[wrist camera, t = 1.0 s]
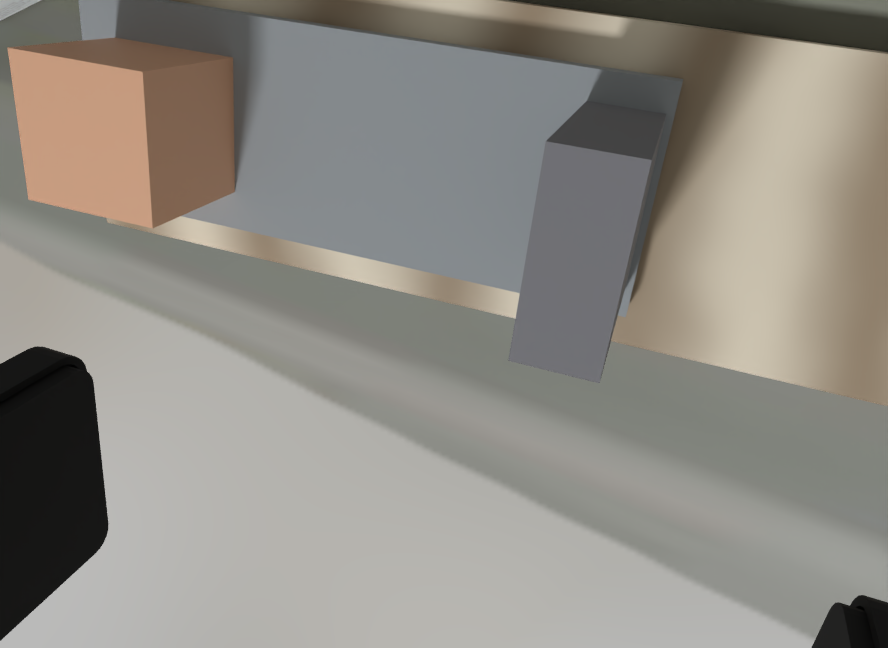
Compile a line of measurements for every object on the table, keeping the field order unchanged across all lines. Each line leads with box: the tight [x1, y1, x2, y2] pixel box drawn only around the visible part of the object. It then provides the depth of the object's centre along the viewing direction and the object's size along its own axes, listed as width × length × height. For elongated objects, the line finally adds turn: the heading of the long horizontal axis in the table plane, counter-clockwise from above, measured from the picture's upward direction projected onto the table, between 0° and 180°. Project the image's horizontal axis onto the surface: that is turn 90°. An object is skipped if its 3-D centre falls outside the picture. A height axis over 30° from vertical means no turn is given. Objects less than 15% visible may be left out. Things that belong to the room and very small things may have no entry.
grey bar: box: [79, 0, 683, 383], centre depth 25 cm, size 22×8×8 cm, turn 84°
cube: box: [8, 38, 235, 229], centre depth 27 cm, size 5×5×5 cm
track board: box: [107, 0, 888, 406], centre depth 27 cm, size 33×11×1 cm, turn 84°
